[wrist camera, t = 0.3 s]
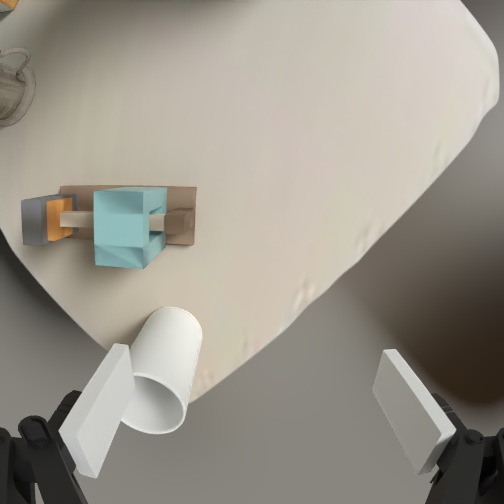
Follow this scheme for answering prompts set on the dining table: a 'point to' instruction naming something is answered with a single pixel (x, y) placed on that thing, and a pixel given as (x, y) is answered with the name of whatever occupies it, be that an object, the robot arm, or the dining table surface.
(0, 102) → the mug
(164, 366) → the cup
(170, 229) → the rail
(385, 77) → the dining table surface
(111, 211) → the sleeve
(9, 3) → the small box
